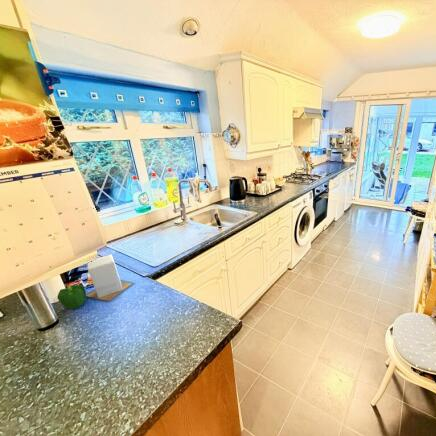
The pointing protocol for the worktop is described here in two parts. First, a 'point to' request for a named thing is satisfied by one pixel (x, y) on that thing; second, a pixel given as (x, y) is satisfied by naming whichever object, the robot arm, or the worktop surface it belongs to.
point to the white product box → (104, 276)
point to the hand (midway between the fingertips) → (76, 229)
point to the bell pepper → (72, 296)
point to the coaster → (109, 297)
